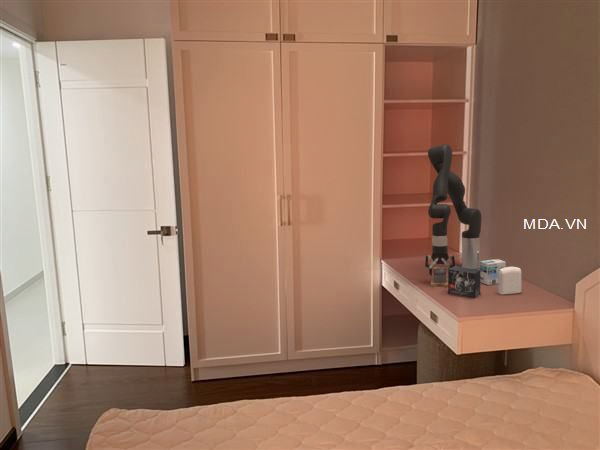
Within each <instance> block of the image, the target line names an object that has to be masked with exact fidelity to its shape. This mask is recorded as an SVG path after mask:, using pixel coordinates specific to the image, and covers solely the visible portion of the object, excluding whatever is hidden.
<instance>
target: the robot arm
mask: <svg viewBox="0 0 600 450" xmlns="http://www.w3.org/2000/svg"><path fill="white" fill-rule="evenodd" d="M427 157H428V159H429V162H430V164H431V166H432V167H433V169H434V170H435V172H436V174H437V175H436V178H435V179H434V181H433V183H432V184H433V185H432V196H431V197H432V198H431V202H430V205H429V206H428V211H427V213H428V216H429V218H431V219H442V221H439V222H435V223H433V224H432V227H431V230H432V236H431V255H428V254H426V255H425V263H424V264H425V265H424V266H425V268H428V274H429V275H430V276H433V268H434V267H435V264H436V265H445V266H446V267H447V268H448V269H450V268H452V267H454V266H456V262H455V254H452V255H449V253H448V252H449V245H448V244H449V240H448V222H449V219H450V216H451V211H452V209H451V206H450V205H449V204H447V203H442V202H445V201H446V200H447V199H448V196H449V198H450V200H451V203H452V205H453V208H454V211H455V213H456V216H457V219H458V220H459V222H460V223H461V224H463V225H467V226H468V228H467V230H463V231H462V232H461V267H464V268H470V269H477V270H480V261H481V259H480V258H481V255H480V254H481V253H480V235H481V232H482V231H481V229H482V211H480V209H478V208H472V207H468V206H467V205H466V203H465V199H464V198H465V194H466V187H465V185H464V183H463V180H462V179H461V178H460V176H459V175H458V174H456V173H455V172H453V171H451V167H452V163H453V150H452V147H451V146H450V144H448V143H445V144H440V145H436V146H432V147H430V148H429V149H428V150H427ZM430 259H431V260H432V261H431V263H430V264H429V260H430ZM449 259H450V261H451V263H452V264H450V262H449V261H448V260H449ZM448 269H447V270H448Z"/></svg>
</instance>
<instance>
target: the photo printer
mask: <svg viewBox="0 0 600 450" xmlns="http://www.w3.org/2000/svg"><path fill="white" fill-rule="evenodd" d="M497 289H498V294H499V295H513V294H520V293H522V270H521V268H520V267H517V266H506V267H505V268H502V269H500V270H499V272H498V288H497Z"/></svg>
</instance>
